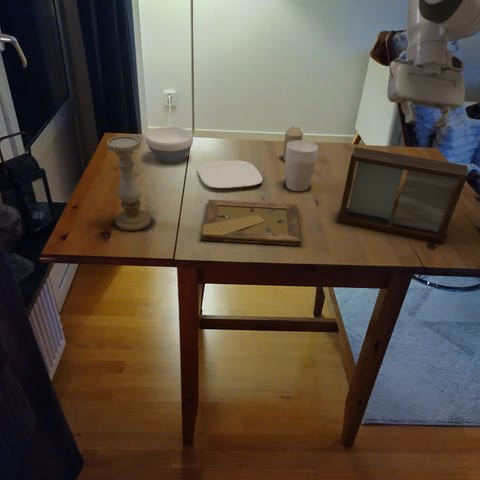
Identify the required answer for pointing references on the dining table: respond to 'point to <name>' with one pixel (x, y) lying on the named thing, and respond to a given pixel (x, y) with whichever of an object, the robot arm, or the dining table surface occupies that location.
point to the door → (375, 189)
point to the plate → (229, 174)
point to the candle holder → (128, 185)
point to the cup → (300, 164)
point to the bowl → (169, 143)
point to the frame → (411, 195)
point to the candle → (292, 137)
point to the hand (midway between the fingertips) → (426, 124)
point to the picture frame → (251, 222)
